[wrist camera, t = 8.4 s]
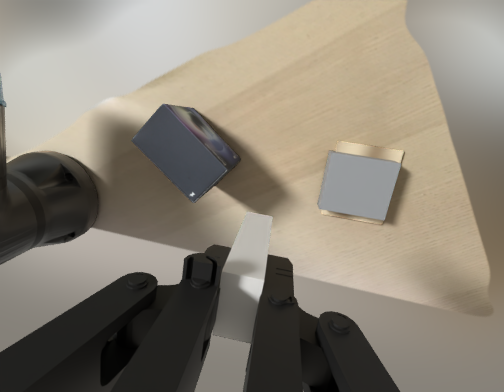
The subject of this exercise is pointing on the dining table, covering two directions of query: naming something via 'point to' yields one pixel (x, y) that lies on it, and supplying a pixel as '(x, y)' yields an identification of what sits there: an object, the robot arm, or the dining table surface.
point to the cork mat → (369, 152)
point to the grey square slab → (358, 185)
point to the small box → (186, 149)
